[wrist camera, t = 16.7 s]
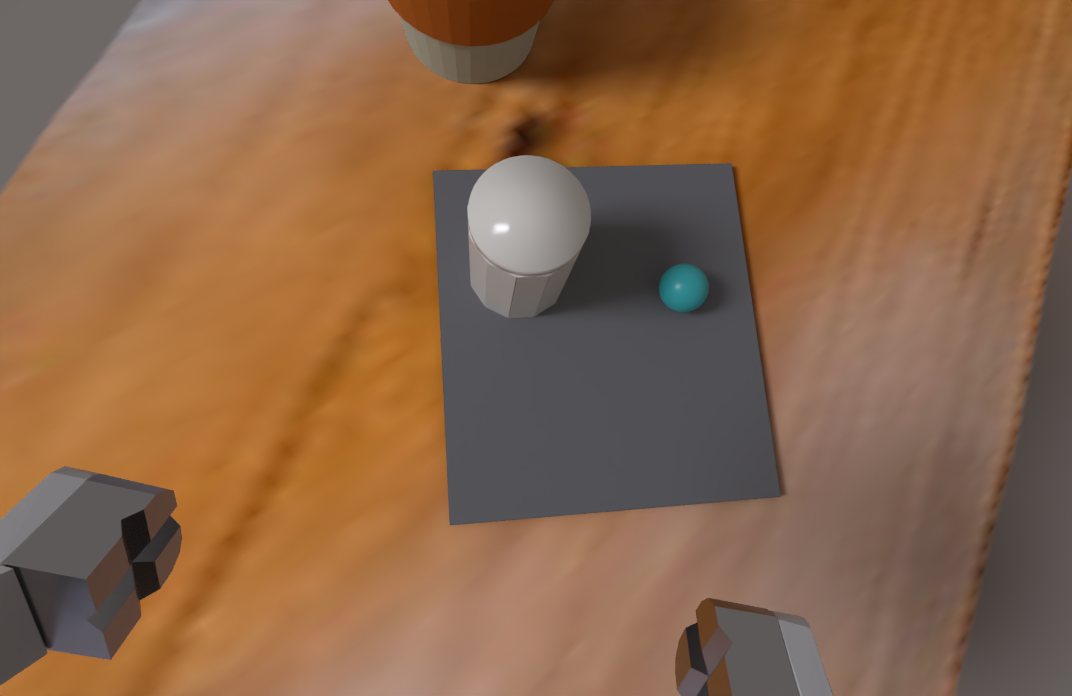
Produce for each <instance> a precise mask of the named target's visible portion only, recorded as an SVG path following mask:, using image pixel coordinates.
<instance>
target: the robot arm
mask: <svg viewBox="0 0 1072 696" xmlns="http://www.w3.org/2000/svg"><path fill="white" fill-rule="evenodd" d="M176 507H177V503H176V498H175V494H174V491H173V490H169V489H165V488H160V487H156V486H152V485H147V484H143V483H138V482H134V481H130V480H125V479H121V478H116V477H112V476H108V475H103V474H99V473H95V472H90V471H85V470H80V469H76V468H71V467H66V466H64V467H62V468H60V469H58V470H56V471H54V472H51V473H50V474H49V475H48V476H47V477H46V478H44V479H43V480H42V481H41V482H40V483H39V484H38V485H37V486H36V487H35V488H34V489H33V490H32V491H30V492H29V493H28V494H27V495H26V496H25V497H24V498H23V499H22V500H21V501H20V502H19V503H18V504H17V505H15V506H14V507H13V508H12V509H11V510H10V511H9V512H8V513H7V514H6V515H5V516H4V517H3V518H2V519H0V685H2V684H3V683H5V682H6V681H8V680H9V679H10V678H12V677H13V676H15V675H16V674H18V673H19V672H21V671H22V670H24V669H25V668H27V667H28V666H30V665H31V664H33V663H34V662H36V661H37V660H39V659H40V658H42V657H43V656H45V655H46V654H47V650H53V651H59V652H65V653H71V654H77V655H84V656H90V657H96V658H102V659H109V660H111V659H112V658H113V656H114V655H115V653H116V652H117V650H118V649H119V647H120V646H121V645H122V643H123V642H124V640H125V639H126V637H127V636H128V635H129V633H130V632H131V630H132V629H133V627H134V626H135V625H136V623H137V622H138V620H139V619H140V617H141V606H140V600H141V599H143V598H145V597H147V596H148V595H150V594H152V593H154V592H155V591H157V590H159V589H160V588H161V587H162V585H163V584H164V582H165V581H166V579H167V578H168V576H169V575H170V573H171V572H172V570H173V567H174V565H175V563H176V560H177V558H178V555H179V553H180V548H181V541H182V534H181V526H180V525H179V524H178V523H177V522H176V521H175V520H174V519H173V518H172V517H171V516H170V515H171V513H172V512H173V511H174V509H175V508H176ZM696 617H697V623H695V624H693V625H690V626H688V627H686V628H685V630H684V632H683V634H682V636H681V638H680V640H679V643H678V648H677V653H676V658H675V675H676V685H677V691H678V692H679V694H680V695H681V696H833V693H832V690H831V687H830V685H829V682H828V679H827V676H826V673H825V670H824V667H823V664H822V661H821V658H820V655H819V652H818V649H817V646H816V643H815V640H814V637H813V634H812V631H811V629H810V626H809V624H808V623H807V621H806V620H805V619H804V618H803V617H800V616H796V615H791V614H785V613H780V612H775V611H769V610H768V609H764V608H759V607H754V606H748V605H743V604H738V603H732V602H727V601H722V600H716V599H711V598H707V599H705V600H703V601H701V603H700V605H699V606H698V608H697V609H696Z"/></svg>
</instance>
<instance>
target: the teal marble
mask: <svg viewBox="0 0 1072 696" xmlns="http://www.w3.org/2000/svg"><path fill="white" fill-rule="evenodd" d="M708 292H709V283H708V280H707V277H706V275H705V274H704V272H703V271H702V270H701V269H699V268H698V267H696V266H694V265H691V264H678V265H675V266H672V267H671V268H669V269H668V270H667V271H666V272H665V273H664V274H663V276H662V278H661V280H660V283H659V294H660V297H661V299H662V301H663V303H664V304H665V305H666V306H667V307H668V308H670V309H671V310H674V311H677V312H690V311H693V310H695V309H697V308H698V307H700V306H701V305H702V304H703V303H704V301H705V300H706V298H707V295H708Z"/></svg>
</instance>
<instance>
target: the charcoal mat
mask: <svg viewBox="0 0 1072 696" xmlns="http://www.w3.org/2000/svg"><path fill="white" fill-rule="evenodd" d="M566 169H568V170H569V171H570V172H571V173H572V174H573V175H574V176H575V177H576V178H577V179H578V180H579V182H580V183H581V185H582V186H583V188H584V189H585V192H586V194H587V196H588V199H589V203H590V208H591V224H590V229H589V234H588V236H587V238H586V241H585V243H584V245H583V247H582V249H581V251H580V253H579V255H578V257H577V260H576V262H575V264H574V266H573V268H572V270H571V272H570V274H569V277H568V279H567V281H566V283H565V285H564V287H563V289H562V291H561V293H560V295H559V297H558V299H557V301H556V303H555V304H554V305H552V306H551V307H549V308H547V309H546V310H544V311H543V312H541V313H540V314H538V315H537V316H535V317H524V318H509V317H508V318H507V317H505V316H503V315H501V314H499V313H497V312H495V311H493V310H491V309H489V308H486V307H485V306H484V304H483V303H482V302H481V300H480V299H479V297H478V296H477V294H476V293H475V291H474V290H473V288H472V287H471V281H470V263H469V239H468V213H467V205H468V203H469V198H470V195H471V192H472V189H473V187H474V185H475V184H476V182H477V180H478V179H479V178H480V177H481V175H482V174H483V173H484V172H485V171H486V170H446V171H433V181H434V202H435V223H436V244H437V266H438V287H439V308H440V329H441V350H442V371H443V392H444V413H445V435H446V456H447V477H448V498H449V519H450V525H458V524H469V523H481V522H492V521H504V520H516V519H527V518H539V517H550V516H562V515H573V514H585V513H596V512H608V511H619V510H631V509H643V508H654V507H666V506H677V505H689V504H700V503H712V502H723V501H735V500H747V499H758V498H770V497H781V495H780V489H779V482H778V475H777V468H776V461H775V455H774V448H773V441H772V434H771V427H770V421H769V414H768V407H767V400H766V393H765V387H764V380H763V373H762V366H761V360H760V353H759V346H758V339H757V332H756V326H755V319H754V312H753V305H752V298H751V292H750V285H749V278H748V271H747V265H746V258H745V251H744V244H743V237H742V231H741V224H740V217H739V210H738V203H737V197H736V190H735V183H734V176H733V169H732V163H728V164H688V165H647V166H607V167H567V168H566ZM487 170H488V169H487ZM678 264H691V265H694V266H696V267H698V268H699V269H701V270H702V271H703V272H704V274H705V275H706V277H707V280H708V283H709V292H708V295H707V298H706V300H705V301H704V303H703V304H702V305H701V306H700V307H698V308H697V309H695V310H693V311H690V312H677V311H674V310H671V309H670V308H668V307H667V306H666V305H665V304H664V303H663V301H662V299H661V297H660V294H659V283H660V280H661V278H662V276H663V274H664V273H665V272H666V271H667V270H668V269H669V268H671V267H672V266H675V265H678Z"/></svg>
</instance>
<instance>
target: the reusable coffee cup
mask: <svg viewBox="0 0 1072 696" xmlns="http://www.w3.org/2000/svg"><path fill="white" fill-rule="evenodd" d="M388 1H389V2H390V4H391V6H392V7H393V8H394V10H395V11H396V12H397V13H398V14H399V17H400V20H401V22H402V25H403V28H404V31H405V34H406V37H407V40H408V42H409V45H410V47H411V49H412V50H413V52H414V54H415V56H416V57H417V58H418V59H419V60H420V61H421V62H422V63H423V65H425V66H426V67H427V68H428V69H430V70H431V71H432V72H434V73H436V74H438V75H439V76H441V77H443V78H445V79H449V80H452V81H455V82H459V83H467V84H479V83H487V82H491V81H495V80H498V79H500V78H502V77H505V76H507V75H509V74H510V73H511V72H513V71H514V70H516V69H517V68H518V67H519V66H520V65H521V64H522V63H523V62H524V60H525V59H526V57H527V56H528V54H529V52H530V50H531V48H532V44H533V41H534V38H535V35H536V32H537V29H538V26H539V23H540V20H541V18H542V17H543V16H544V15H545V14H546V13H547V11H548V9H549V8H550V6H551V4H552V2H553V1H554V0H388Z"/></svg>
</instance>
